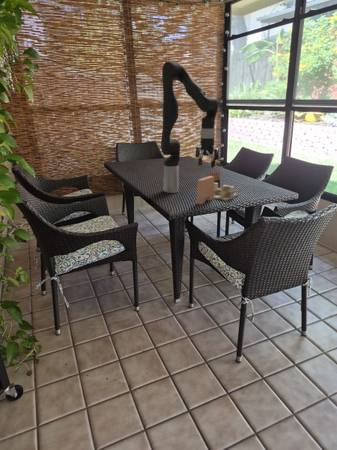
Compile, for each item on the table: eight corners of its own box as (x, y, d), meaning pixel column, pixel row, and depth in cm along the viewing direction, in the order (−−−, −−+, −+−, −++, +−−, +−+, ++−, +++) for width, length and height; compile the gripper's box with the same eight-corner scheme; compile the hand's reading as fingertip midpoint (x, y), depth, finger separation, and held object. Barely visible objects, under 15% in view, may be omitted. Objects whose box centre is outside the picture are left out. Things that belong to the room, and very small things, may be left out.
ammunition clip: (207, 189, 206) (208, 171, 201) (205, 189, 208) (206, 171, 203) (220, 187, 211) (220, 169, 206) (218, 186, 212) (219, 169, 208)
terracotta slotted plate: (196, 203, 181) (197, 179, 175) (209, 198, 189) (210, 175, 183) (201, 204, 179) (201, 180, 173) (213, 199, 187) (214, 176, 181)
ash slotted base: (201, 195, 195) (201, 184, 192) (214, 190, 204) (214, 179, 201) (225, 201, 183) (226, 189, 180) (238, 195, 193) (239, 184, 190)
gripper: (193, 136, 171) (192, 165, 178) (214, 138, 162) (212, 169, 169) (201, 135, 176) (200, 163, 183) (222, 137, 167) (220, 167, 174)
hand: (206, 166), depth 176 cm, fingers open, 8 cm apart
